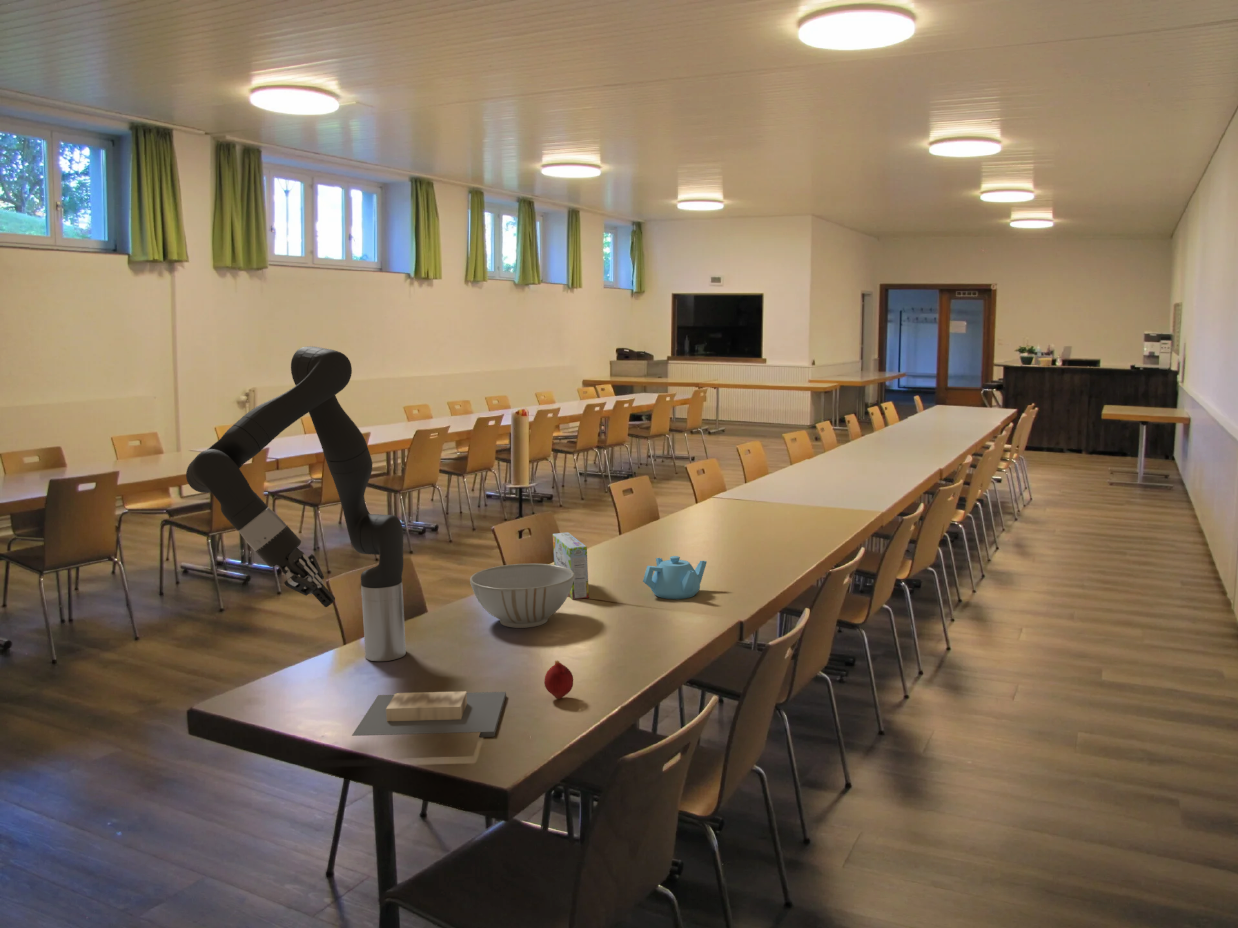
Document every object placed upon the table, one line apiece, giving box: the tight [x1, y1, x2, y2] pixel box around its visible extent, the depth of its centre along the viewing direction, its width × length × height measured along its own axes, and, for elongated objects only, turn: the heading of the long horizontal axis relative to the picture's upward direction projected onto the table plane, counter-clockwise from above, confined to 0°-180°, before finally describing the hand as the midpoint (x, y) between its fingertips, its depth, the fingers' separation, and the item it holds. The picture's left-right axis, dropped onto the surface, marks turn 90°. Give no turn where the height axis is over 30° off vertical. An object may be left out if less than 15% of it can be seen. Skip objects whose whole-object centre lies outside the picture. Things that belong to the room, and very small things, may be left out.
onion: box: [543, 659, 574, 700], centre depth 192 cm, size 6×6×8 cm
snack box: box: [552, 531, 590, 601], centre depth 276 cm, size 21×6×15 cm, turn 17°
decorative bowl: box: [469, 563, 575, 629], centre depth 247 cm, size 27×27×12 cm
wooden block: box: [386, 690, 468, 721], centre depth 184 cm, size 8×3×14 cm
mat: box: [351, 691, 507, 738], centre depth 185 cm, size 20×26×1 cm
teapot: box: [642, 555, 708, 600], centre depth 270 cm, size 15×15×11 cm
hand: (330, 603), depth 186 cm, fingers closed
